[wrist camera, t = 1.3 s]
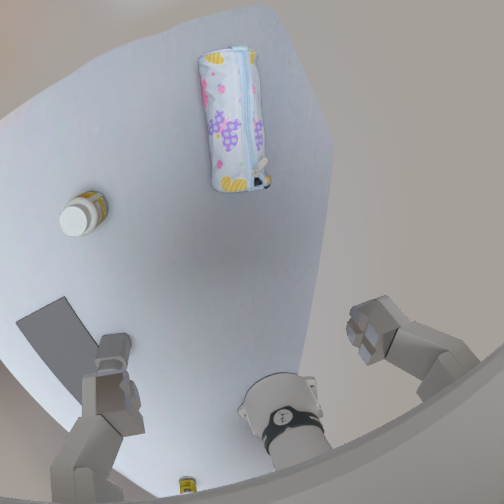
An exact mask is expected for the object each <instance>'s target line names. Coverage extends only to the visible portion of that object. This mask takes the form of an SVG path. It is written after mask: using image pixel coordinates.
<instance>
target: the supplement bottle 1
mask: <svg viewBox="0 0 504 504" xmlns="http://www.w3.org/2000/svg"><path fill="white" fill-rule="evenodd" d="M107 212H108V204H107V201H106V199H105V197H104V196H103V195H102V194H100V193H98V192H96V191H89V192H86V193H84V194H81V195H79V196H77V197H75V198H73V199H72V200H70V201H69V202H68V203H67V204H66V205H65V207H64V209H63V212H62V213H61V216H60V226H61V229H62V230H63V232H64V233H65V234H67V235H68V236H71V237H77V236H85V235H88V234H89V233H91V232H92V231H93V230H94V229H95V228H96V227H97V226H98V225H99V224H100V223H101V222H102V221H103V220H104V219H105V217H106V215H107Z"/></svg>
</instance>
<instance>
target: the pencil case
mask: <svg viewBox="0 0 504 504" xmlns="http://www.w3.org/2000/svg"><path fill="white" fill-rule="evenodd" d="M228 47H229V48H230V49H222V50H216V51H212V52H209V53H206V54H204V55H202V56H200V57H199V60H198V66H199V73H200V81H201V86H202V97H203V103H204V109H205V113H206V119H207V125H208V131H209V133H208V142H209V151H210V158H211V165H212V180H211V185H212V187H213V188H214V189H215V190H217V191H219V192H224V193H234V192H242V191H254V190H261V189H263V187H264V188H266V189H267V188H268V187H269V186H270V184H271V177H270V176H269V175H268V174H267V173H266V172H265V165H266V164H267V163H268V162H269V161H268V159H267V158H266V149H265V131H264V123H263V117H262V108H261V85H260V76H259V72H258V68H257V65H256V60H257V58H258V53H257V51H256V50H254V49H248V48H247V47H246V46H245V45H229V46H228Z"/></svg>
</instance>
